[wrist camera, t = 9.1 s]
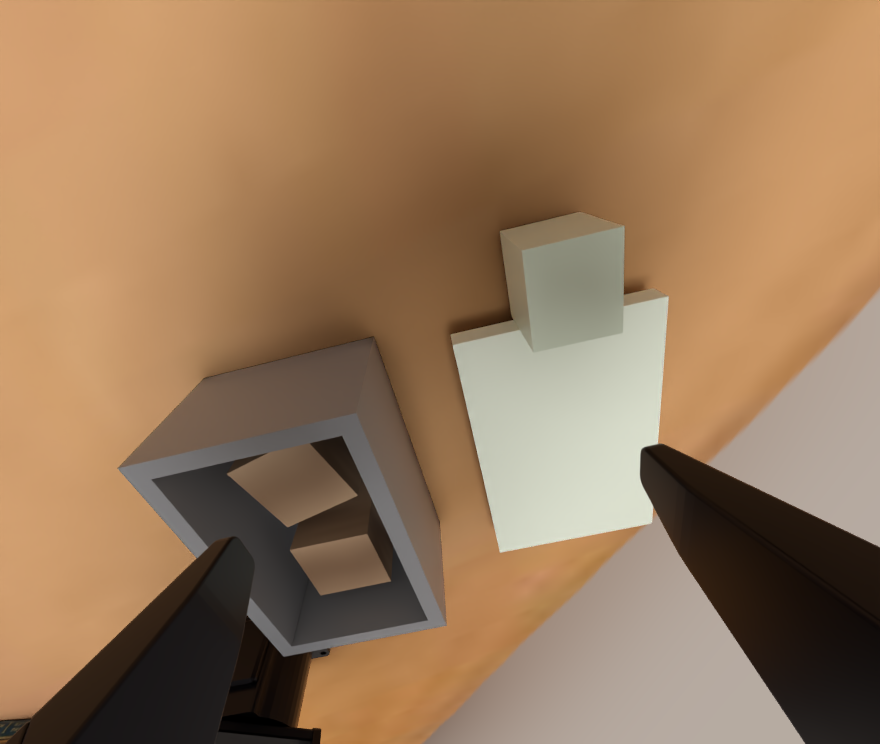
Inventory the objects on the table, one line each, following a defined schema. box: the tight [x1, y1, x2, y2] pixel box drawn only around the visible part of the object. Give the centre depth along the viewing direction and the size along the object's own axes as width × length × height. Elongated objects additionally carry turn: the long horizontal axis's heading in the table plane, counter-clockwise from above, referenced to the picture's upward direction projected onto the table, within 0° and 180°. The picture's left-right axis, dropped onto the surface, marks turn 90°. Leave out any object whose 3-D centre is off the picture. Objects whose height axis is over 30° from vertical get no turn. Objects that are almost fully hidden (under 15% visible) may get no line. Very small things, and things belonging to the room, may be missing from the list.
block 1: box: [227, 436, 361, 527], centre depth 19 cm, size 4×4×4 cm
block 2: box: [290, 478, 393, 595], centre depth 22 cm, size 4×4×4 cm
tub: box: [118, 337, 447, 657], centre depth 20 cm, size 14×9×6 cm, turn 13°
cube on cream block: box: [450, 212, 669, 552], centre depth 20 cm, size 19×10×4 cm, turn 13°
